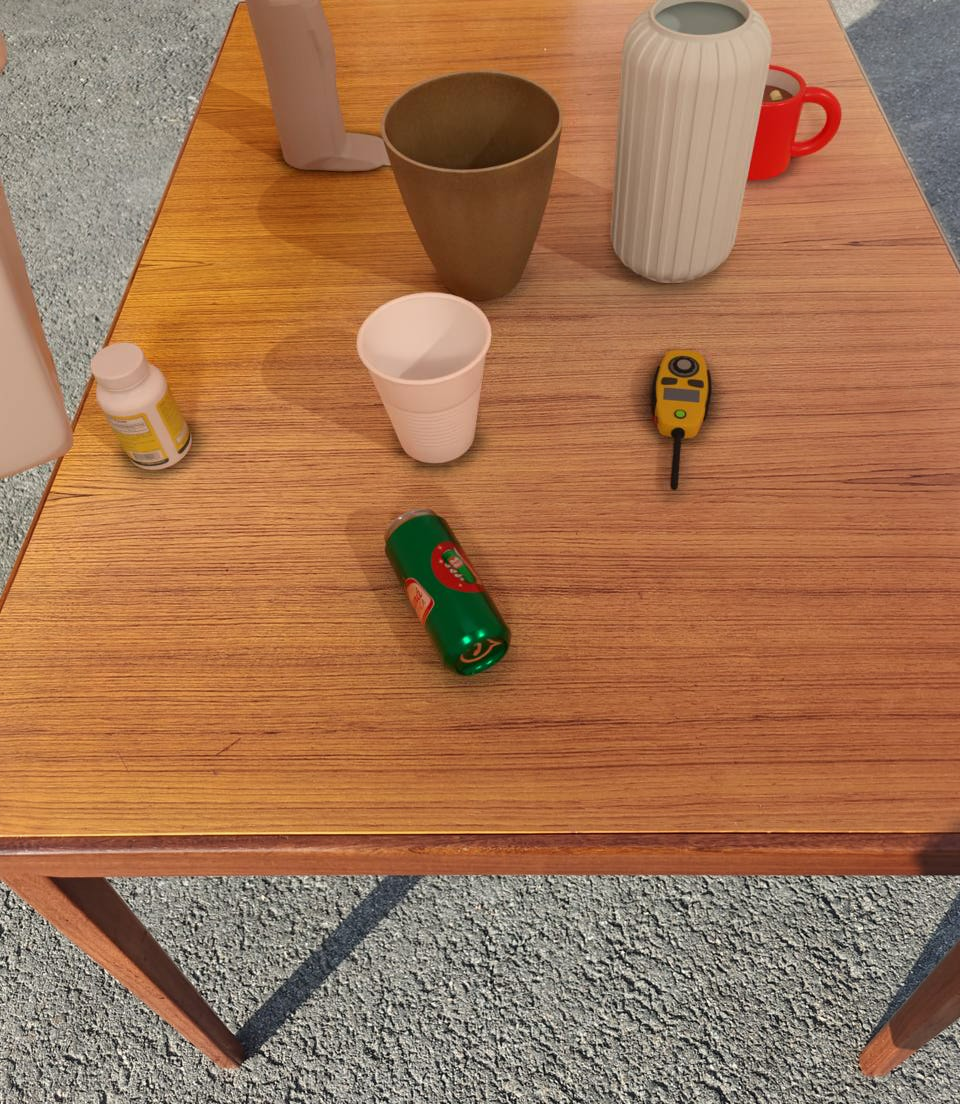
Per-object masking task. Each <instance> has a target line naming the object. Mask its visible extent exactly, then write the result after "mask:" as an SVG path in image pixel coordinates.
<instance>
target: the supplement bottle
mask: <svg viewBox="0 0 960 1104" xmlns="http://www.w3.org/2000/svg"><path fill="white" fill-rule="evenodd" d="M148 361H149V360H148V359H147V358H146V356H145V354H144V352H143V350H142V348H141V347H140V346H139V345H137V344H135V343H131V342H117V343H113V344H109V345H106V346H105V347H103V348H101V349H100V350H99V351H98V352H96V353H95V354H94V356H93V357H92V358H91V361H90V365H89V366H90V371H91V373H92V375H93V377H94V379H95V381H96V383H97V384H96V388H95V398H96V401H97V404H98V406H99V408H100V410H101V411H102V414H103V415H104V416H105V418H106V420H107V422H108V424H109V425H110V427H111V429H112V431H113V432H114V434H115V436H116V438H117V440H118V441H119V443H120V445H121V447H122V449H123V450H124V452H125V454H126V456H127V457H128V459H129V460H130V462H132V464H133V465H135V466H136V467H138V468H140V469H144V470H148V471H159V470H162V469H167V468H169V467H171V466H173V465H175V464H177V463H178V462H180V461H181V460H182V459H183V458H185V456H187V454H188V453H189V451H190V449H191V447H192V443H193V437H192V433H191V430H190V428H189V425H188V424H187V422H186V419H185V418H184V416H183V413H182V412H181V409H180V407H179V405H178V403H177V401H176V399H175V396H174V394H173V391H172V390H171V388H170V385H169V383H168V380H167V379H166V376H165V375H164V374H163V372H162V371H161V370H160V369H159V368H158V367H157V366H155V365H154V364H152V363H149V362H148Z"/></svg>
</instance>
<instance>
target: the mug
mask: <svg viewBox="0 0 960 1104" xmlns="http://www.w3.org/2000/svg"><path fill="white" fill-rule="evenodd" d="M804 104H816V105H819V106H820V107H822V109H823V110H824V112H825V116H826V118H825V122H824V125H823V127H822V128H821V130H819V132H818V133H816V135H814V136H812V137H811V138H809V139H807V140H803V141H796V136H797V131H798V128H799V123H800V120H801V115H802V111H803V107H804ZM842 113H843V112H842V107H841V103H840V101H839V100H838V98H837V96H835V95H834V94H833V93H832V92H831V91H829V90H828V89H826V88H823V87H820V86H814V85H813V86H812V85H811V86H807V83H806V81H805V79H804V78H803V77H802V75H800V74H799V73H797V72H796V71H794V70H792V69H790V68H786V67H784V66H779V65H774V64H769V69H768V74H767V79H766V84H765V90H764V95H763V100H762V105H761V110H760V115H759V120H758V126H757V131H756V136H755V141H754V146H753V151H752V156H751V162H750V167H749V172H748V177H747V181H762V180H767V179H771V178H774V177H775V178H776V177H777V176H779V175H781V174H782V173H784V172H786V170H787V169H788V168H789V165H790V162H791V158H801V157H807V156H810V155H813V154H815V153H817V152H819V151H820V150H822V149H823V148H825V147H826V146H827V145H829V144H830V142H831V141H832V140H833V139H834V137H835V136H836V134H837V133H838V130H839V128H840V125H841V122H842Z"/></svg>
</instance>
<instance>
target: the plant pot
mask: <svg viewBox="0 0 960 1104" xmlns="http://www.w3.org/2000/svg"><path fill="white" fill-rule="evenodd" d="M563 122H564V111H563V108H562V105H561V103H560V101H559V99H558V98H557V97H556V96H555V94H554V93H552V91H551V90H549V89H548V87H546V86H544V85H542V83H540V82H537V81H536V80H533V79H531V78H529V77H526V76H523V75H522V74H521V75H520V74H516V73H513V72H509V71H508V72H507V71H502V70H496V69H495V70H492V69H469V70H459V71H451V72H447V73H443V74H438V75H435V76H432V77H430V78H427V79H424V80H422V81H419V82H417V83H415V84H413V85H411V86H410V87H408V88H406V89H405V90H403V91H401V92H400V93H399V94H398V95H396V96H395V97H394V99H393V100H391V101H390V102H389V104H388V105H387V106H386V108H385V109H384V111H383V113H382V115H381V119H380V134H381V137H382V139H383V141H384V145H385V148H386V151H387V154H388V158H389V161H390V164H391V166H390V167H391V170H392V173H393V177H394V179H395V182H396V185H397V188H398V191H399V193H400V196H401V199H402V201H403V204H404V207H405V209H406V211H407V214H408V216H409V219H410V221H411V223H412V226H413V228H414V230H415V233H416V235H417V236H418V237H417V238H418V240H419V241H420V244H421V245H422V247H423V249H424V251H425V253H426V255H427V256H428V258H429V260H430V263H431V264H432V265H433V268H434V269H435V271H436V273H437V275H438V276H439V278H440V279H441V281H442V282H443V284H444V286H445V287H446V288H447V290H448V291H449V292H450V293H452V295H454V296H458V297H461V298H463V299H465V300H467V301H474V302H475V301H476V302H482V301H483V302H485V301H492V300H494V299H495V300H496V299H499V298H501V297H504V296H505V295H507V294H509V293H510V292H512V290H513V289H515V288H516V286H518V283H519V282H520V280H521V278H522V276H523V273H524V272H525V271H524V270H525V269H526V266H527V263H528V261H529V258H530V256H531V253H532V251H533V249H534V246H535V243H536V240H537V237H538V234H539V231H540V228H541V225H542V222H543V218H544V215H545V211H546V208H547V205H548V201H549V197H550V191H551V189H552V185H553V184H552V183H553V179H554V175H555V169H556V163H557V158H558V152H559V149H560V148H559V146H560V141H561V136H562V129H563Z"/></svg>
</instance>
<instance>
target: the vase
mask: <svg viewBox="0 0 960 1104" xmlns="http://www.w3.org/2000/svg"><path fill="white" fill-rule="evenodd" d="M772 42H773V40H772V35H771V31H770V29H769V27H768V25H767V23H766V21H765V19H764V17H763V16H762V15H761V14H760V13H759V12H758V10H755V9H754V8H753V7H752V5H750V4H749V3H748V2H747V1H746V0H656V1H655V2H653V3H652V4H650V5H649V6H647V7H646V8H644V9H643V10H642V11H641V12H640V13H639V14H638V15H637V16H636V17H635V18H634V20H633V21H632V23H630V25H629V26H628V29H627V31H626V32H625V35H624V40H623V45H622V48H621V49H622V50H621V63H620V80H619V92H618V93H619V95H618V107H617V108H618V109H617V123H616V124H617V125H616V139H615V140H616V141H615V152H614V153H615V154H614V171H613V182H612V183H613V185H612V197H611V198H612V200H611V201H612V202H611V214H610V232H609V233H610V241H611V245H612V246H611V247H612V248H613V251H614V253H615V255H616V256H617V257H618V258H619V260H620V261H621V263H622V264H623V265H624V266H625V267H627V268H628V269H630V270H631V272H633V273H635V274H637V275H640V276H642V277H643V278H645V279H647V280H650V281H654V282H658V283H665V284H677V283H685V282H689V281H692V280H694V279H699V278H701V277H704V276H705V275H708V274H710V273H712V272H713V271H715V270H716V269H717V268H719V267H720V265H722V264H723V263H724V262H725V261H726V260H727V259H728V258H729V256H730V254H731V251H732V250H733V248H734V246H735V242H736V239H737V234H738V228H739V222H740V218H741V213H742V207H743V203H744V198H745V191H746V187H747V181H748V180H747V177H748V172H749V167H750V162H751V156H752V151H753V146H754V141H755V136H756V131H757V126H758V120H759V115H760V110H761V105H762V100H763V95H764V90H765V84H766V79H767V74H768V69H769V65H771V64H770V63H771V58H772V50H773V49H772V48H773V45H772V44H773V43H772Z"/></svg>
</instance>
